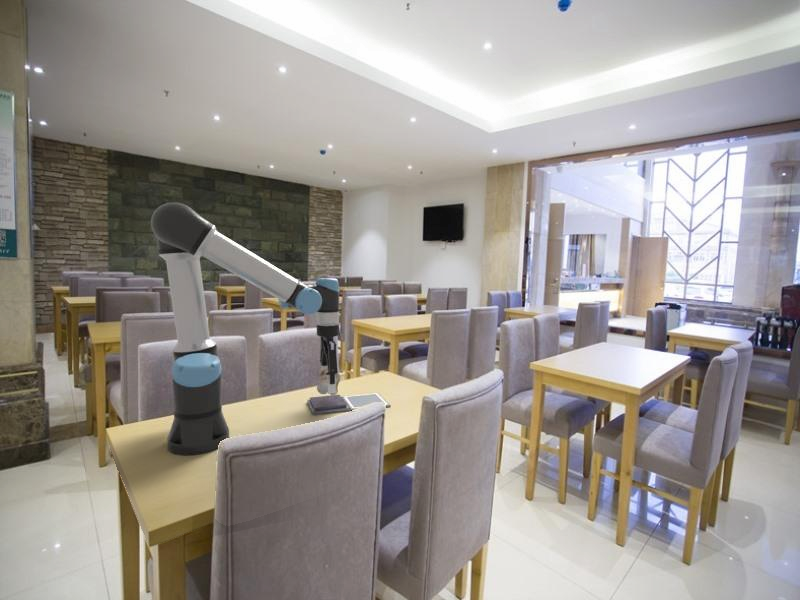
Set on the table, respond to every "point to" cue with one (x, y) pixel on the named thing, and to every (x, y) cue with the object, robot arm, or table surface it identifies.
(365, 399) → the marked board
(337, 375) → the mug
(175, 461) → the table surface
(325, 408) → the ink pad
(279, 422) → the table surface
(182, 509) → the table surface
